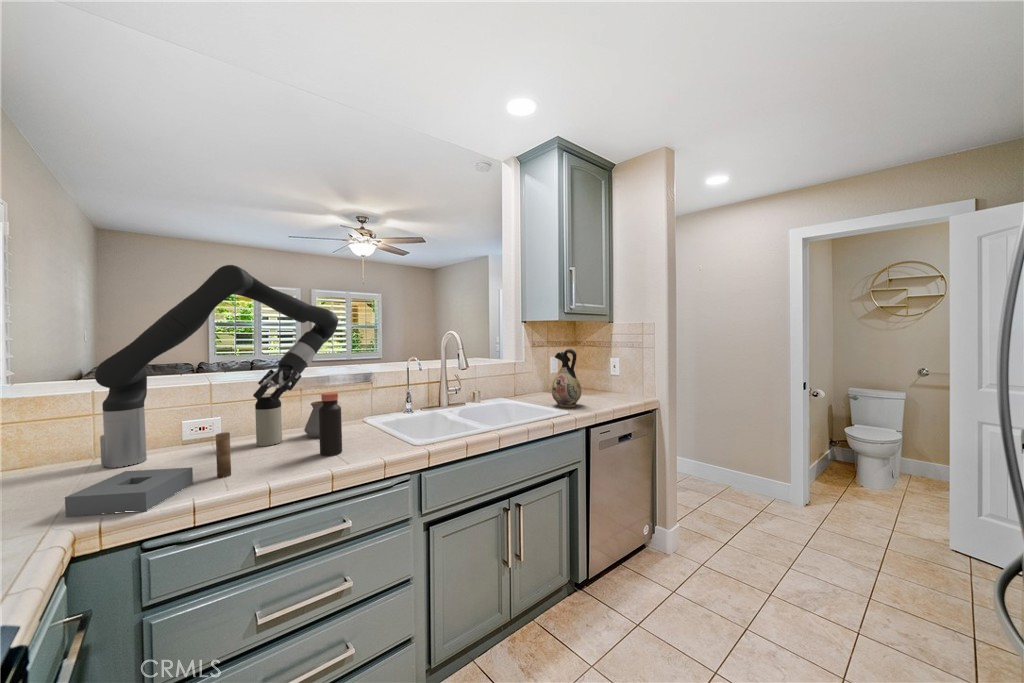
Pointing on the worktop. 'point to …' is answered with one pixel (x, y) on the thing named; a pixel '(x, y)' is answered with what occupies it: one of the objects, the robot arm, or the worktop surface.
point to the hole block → (128, 491)
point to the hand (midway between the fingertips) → (264, 398)
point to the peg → (223, 454)
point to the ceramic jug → (566, 382)
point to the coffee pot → (314, 420)
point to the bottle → (330, 425)
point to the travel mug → (268, 421)
